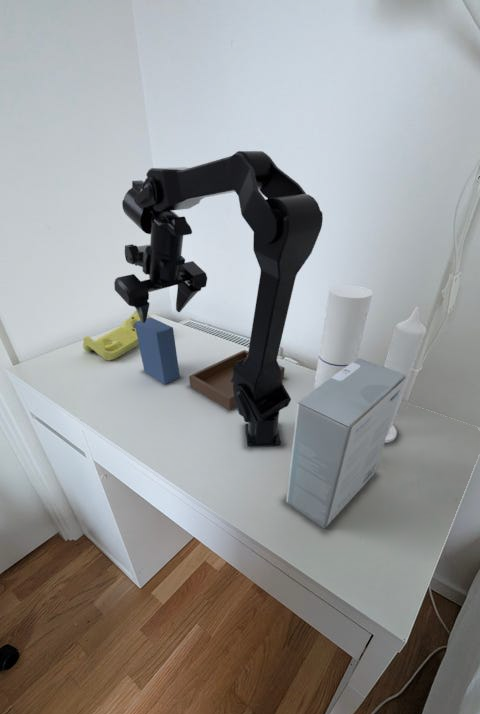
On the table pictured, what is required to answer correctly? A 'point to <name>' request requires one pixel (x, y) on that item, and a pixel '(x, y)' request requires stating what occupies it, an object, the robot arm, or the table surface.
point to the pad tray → (219, 380)
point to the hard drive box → (340, 438)
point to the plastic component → (115, 340)
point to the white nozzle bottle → (404, 355)
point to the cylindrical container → (342, 329)
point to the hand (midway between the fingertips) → (161, 316)
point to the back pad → (158, 349)
